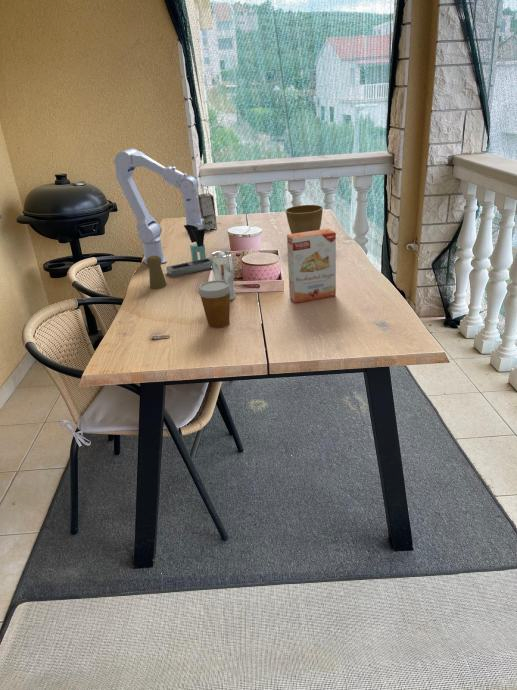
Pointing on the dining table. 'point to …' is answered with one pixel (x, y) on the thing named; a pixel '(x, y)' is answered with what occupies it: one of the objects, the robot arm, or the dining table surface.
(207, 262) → the grey compartment tray
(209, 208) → the coffee box
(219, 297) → the disposable coffee cup
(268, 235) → the dining table surface
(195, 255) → the clip
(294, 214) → the plant pot
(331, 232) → the cracker box
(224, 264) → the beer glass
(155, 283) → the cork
